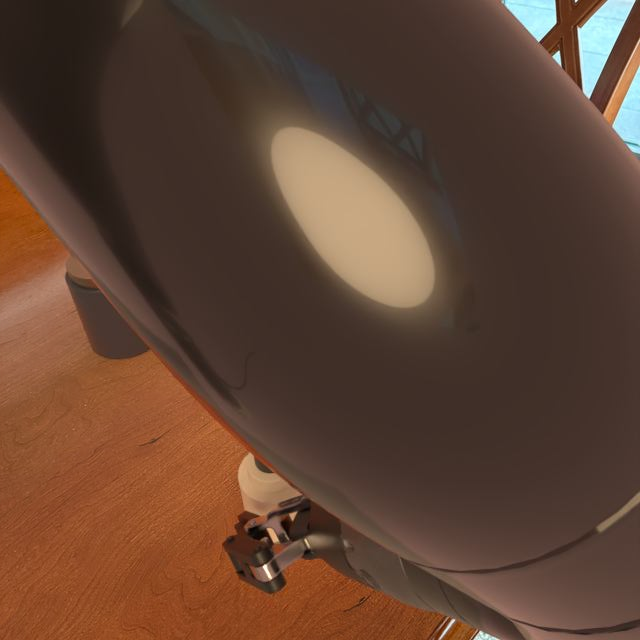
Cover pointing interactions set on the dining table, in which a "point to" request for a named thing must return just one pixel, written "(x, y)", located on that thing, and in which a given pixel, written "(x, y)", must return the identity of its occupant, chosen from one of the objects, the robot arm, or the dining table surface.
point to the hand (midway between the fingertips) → (295, 494)
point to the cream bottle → (262, 489)
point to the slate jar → (101, 317)
